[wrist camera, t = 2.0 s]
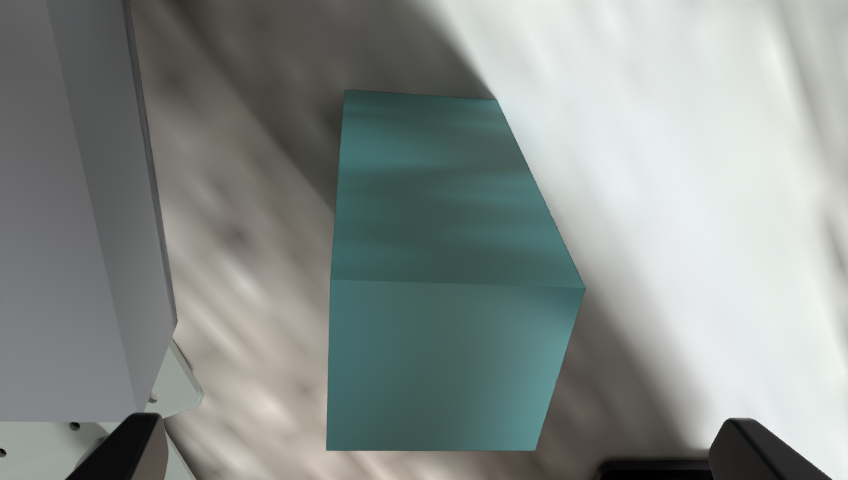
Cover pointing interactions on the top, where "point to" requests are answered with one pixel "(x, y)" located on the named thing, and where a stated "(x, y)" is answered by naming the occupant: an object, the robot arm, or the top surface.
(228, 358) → the top surface
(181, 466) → the metal bracket
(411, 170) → the teal peg
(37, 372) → the well block
